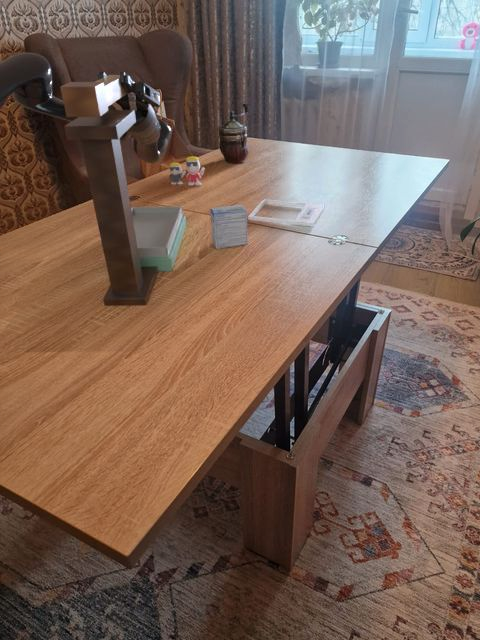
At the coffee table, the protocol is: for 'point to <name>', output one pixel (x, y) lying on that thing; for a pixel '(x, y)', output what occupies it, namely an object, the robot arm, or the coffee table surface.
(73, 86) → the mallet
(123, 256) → the tall wooden post
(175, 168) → the toy figures
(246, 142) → the coffee grinder
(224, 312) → the coffee table surface
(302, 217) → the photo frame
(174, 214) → the open plastic tray
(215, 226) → the medicine box
